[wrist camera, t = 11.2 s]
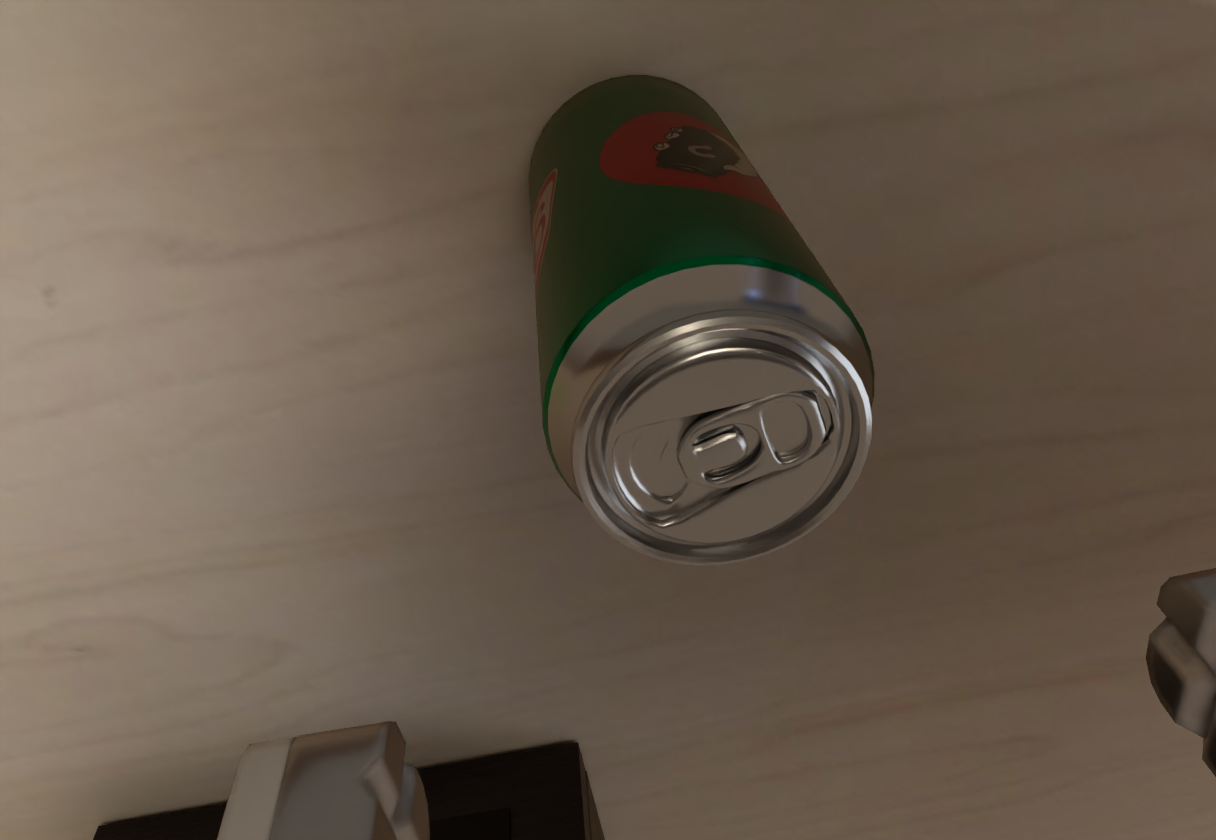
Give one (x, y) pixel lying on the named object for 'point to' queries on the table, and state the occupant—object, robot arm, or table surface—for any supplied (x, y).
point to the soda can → (686, 333)
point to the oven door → (447, 802)
